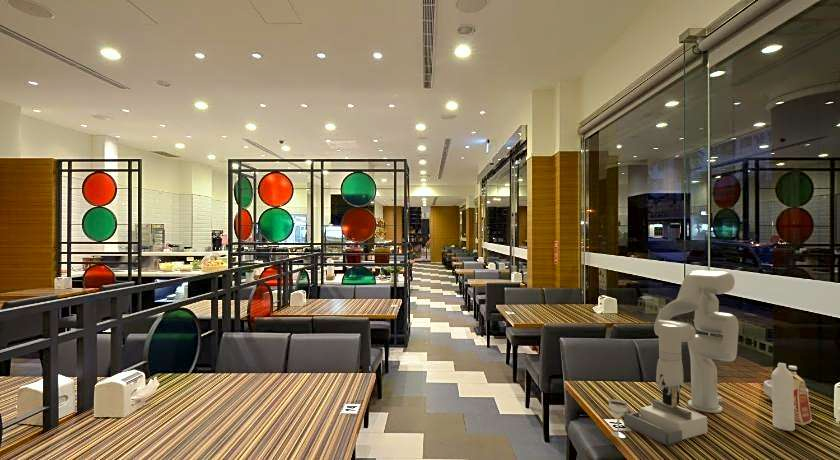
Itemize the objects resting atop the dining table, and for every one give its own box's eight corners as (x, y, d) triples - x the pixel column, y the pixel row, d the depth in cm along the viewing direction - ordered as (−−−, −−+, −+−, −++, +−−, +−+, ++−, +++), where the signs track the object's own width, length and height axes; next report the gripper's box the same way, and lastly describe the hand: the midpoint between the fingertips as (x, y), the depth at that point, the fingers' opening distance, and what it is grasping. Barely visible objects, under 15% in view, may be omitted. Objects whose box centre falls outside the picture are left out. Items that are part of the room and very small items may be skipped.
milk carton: (803, 425, 163) (801, 374, 164) (774, 416, 172) (773, 368, 172) (813, 421, 168) (812, 371, 168) (785, 412, 176) (783, 365, 176)
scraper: (657, 405, 168) (656, 379, 168) (691, 418, 155) (691, 390, 155) (652, 406, 167) (651, 380, 167) (686, 420, 154) (686, 391, 154)
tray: (638, 421, 166) (638, 409, 166) (682, 441, 150) (681, 427, 150) (624, 425, 163) (623, 412, 163) (667, 445, 146) (667, 431, 147)
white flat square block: (667, 416, 171) (667, 401, 172) (707, 432, 157) (707, 416, 157) (640, 422, 165) (640, 407, 165) (679, 440, 150) (679, 423, 151)
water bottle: (768, 424, 164) (766, 361, 165) (783, 423, 165) (781, 360, 166) (790, 434, 156) (788, 367, 157) (805, 433, 156) (803, 367, 157)
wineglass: (619, 440, 150) (619, 406, 151) (604, 432, 157) (604, 400, 157) (632, 436, 153) (632, 404, 154) (617, 429, 159) (617, 397, 160)
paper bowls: (806, 412, 176) (806, 393, 176) (761, 402, 188) (760, 384, 188) (811, 403, 186) (810, 385, 186) (767, 394, 198) (767, 377, 198)
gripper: (675, 351, 168) (675, 396, 168) (646, 355, 162) (647, 403, 161) (693, 356, 161) (694, 403, 161) (664, 360, 155) (665, 410, 154)
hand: (671, 402), depth 161 cm, fingers open, 3 cm apart
